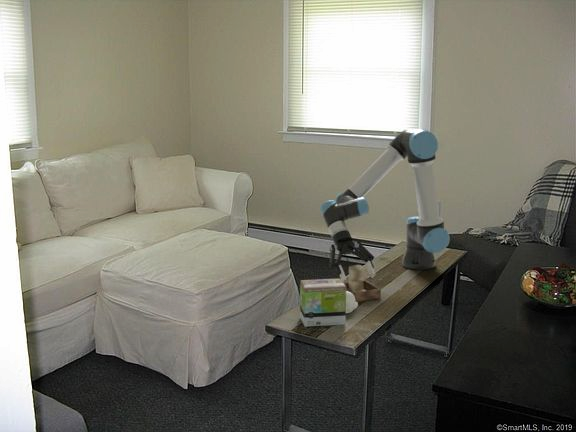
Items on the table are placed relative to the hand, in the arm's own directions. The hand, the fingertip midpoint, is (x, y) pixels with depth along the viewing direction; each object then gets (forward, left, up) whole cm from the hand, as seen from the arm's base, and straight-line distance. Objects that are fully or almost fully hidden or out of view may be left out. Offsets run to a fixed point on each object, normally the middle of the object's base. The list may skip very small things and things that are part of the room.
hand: (359, 278), depth 263 cm
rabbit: (+15, +13, -7) cm, 21 cm away
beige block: (0, 0, -7) cm, 7 cm away
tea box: (+25, +20, -7) cm, 33 cm away
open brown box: (0, 0, -7) cm, 7 cm away
